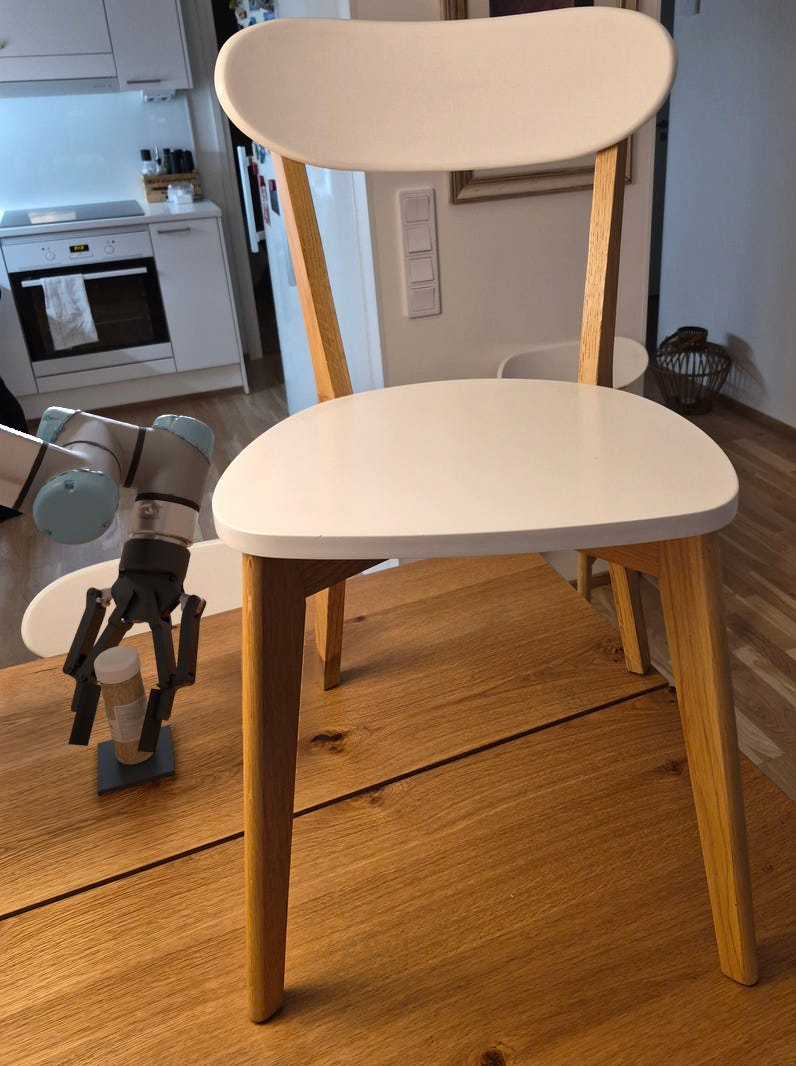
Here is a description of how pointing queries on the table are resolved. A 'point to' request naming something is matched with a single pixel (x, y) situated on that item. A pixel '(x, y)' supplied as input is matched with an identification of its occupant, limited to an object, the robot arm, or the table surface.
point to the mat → (134, 765)
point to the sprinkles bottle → (123, 700)
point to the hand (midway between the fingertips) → (112, 748)
